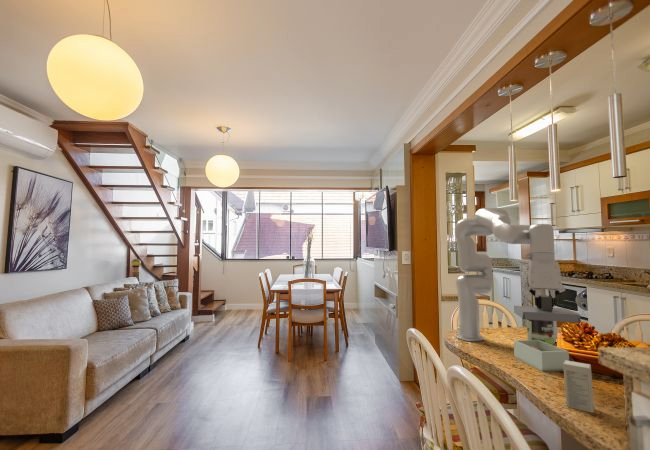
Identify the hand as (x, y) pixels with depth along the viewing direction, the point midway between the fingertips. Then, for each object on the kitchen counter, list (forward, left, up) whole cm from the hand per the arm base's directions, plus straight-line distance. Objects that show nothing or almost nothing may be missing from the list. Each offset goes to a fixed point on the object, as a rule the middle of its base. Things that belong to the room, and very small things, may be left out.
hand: (544, 307), depth 118 cm
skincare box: (+22, -9, -24) cm, 34 cm away
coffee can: (-27, +20, -24) cm, 41 cm away
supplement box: (-38, +32, -24) cm, 55 cm away
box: (-11, +6, -24) cm, 27 cm away
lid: (0, 0, -3) cm, 3 cm away
